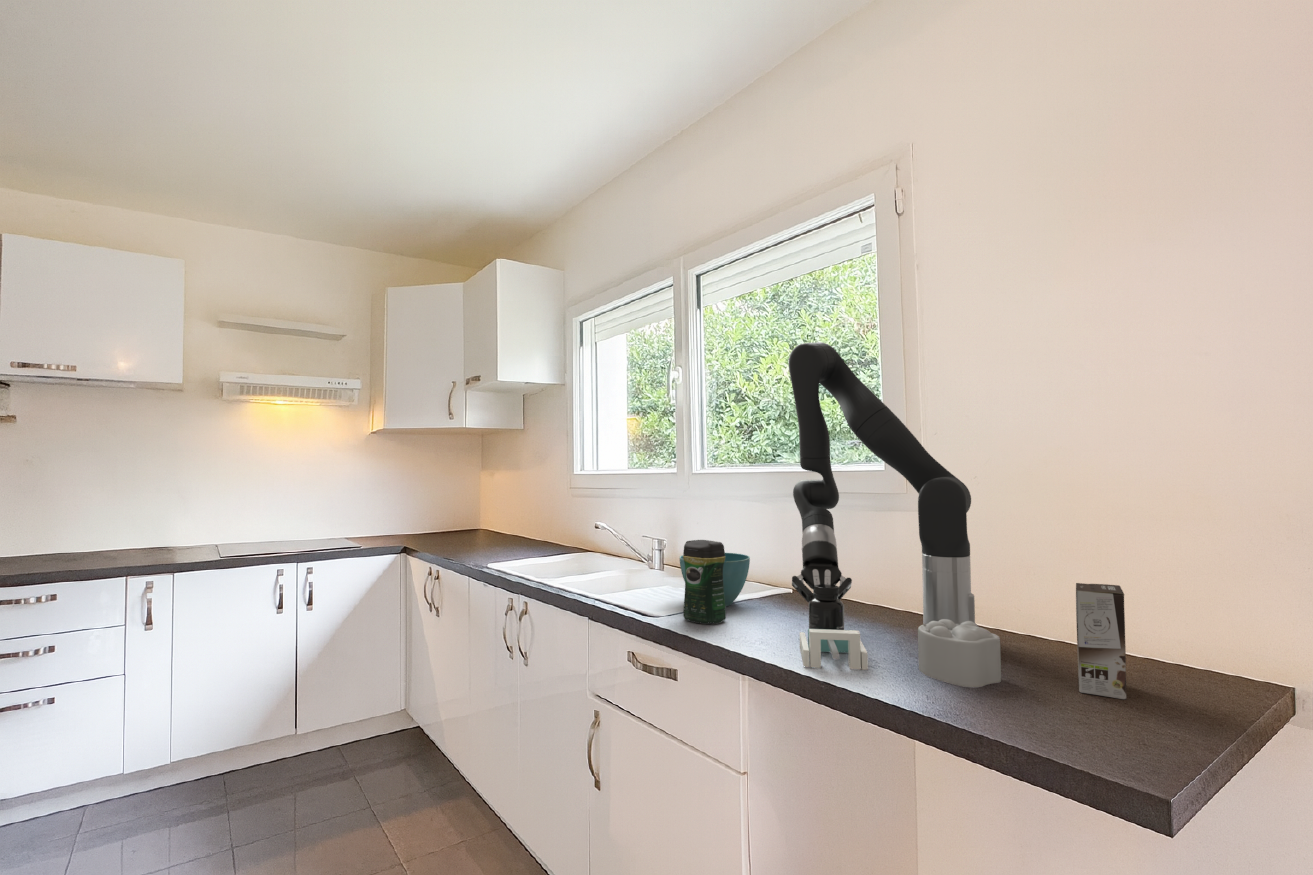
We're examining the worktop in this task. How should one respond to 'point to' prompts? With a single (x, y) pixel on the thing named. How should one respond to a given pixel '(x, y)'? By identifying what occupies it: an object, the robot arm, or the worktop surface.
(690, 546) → the coffee jar
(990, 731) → the worktop surface
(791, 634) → the worktop surface
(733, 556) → the teal bowl
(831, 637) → the white stand with panel
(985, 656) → the lumpy-topped squat cylinder
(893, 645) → the worktop surface
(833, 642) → the pusher
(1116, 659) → the coffee box
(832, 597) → the supplement bottle
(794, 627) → the worktop surface
